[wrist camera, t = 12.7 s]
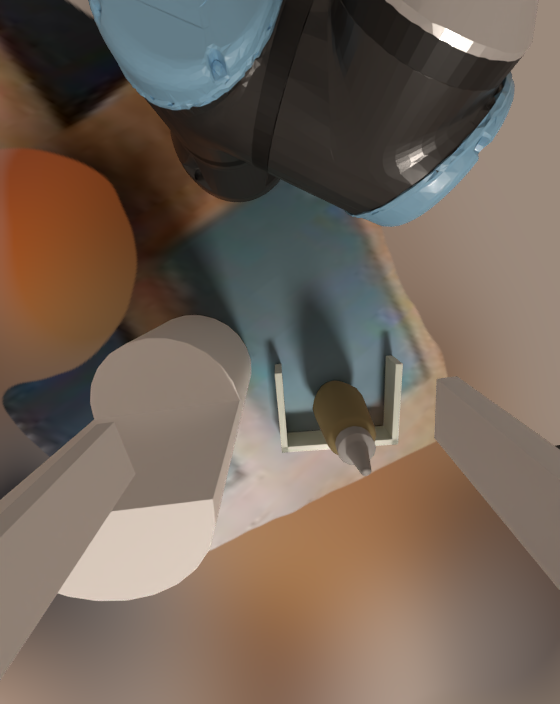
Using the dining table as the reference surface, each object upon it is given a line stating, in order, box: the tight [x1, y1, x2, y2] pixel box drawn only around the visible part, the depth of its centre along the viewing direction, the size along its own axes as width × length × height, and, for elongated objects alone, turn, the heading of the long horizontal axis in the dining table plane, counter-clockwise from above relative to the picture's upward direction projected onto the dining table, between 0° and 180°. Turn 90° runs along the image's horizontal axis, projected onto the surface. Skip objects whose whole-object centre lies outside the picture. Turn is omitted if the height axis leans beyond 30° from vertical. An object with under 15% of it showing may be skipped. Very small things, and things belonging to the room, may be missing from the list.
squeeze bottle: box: [313, 381, 376, 476], centre depth 39 cm, size 8×8×18 cm
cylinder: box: [0, 315, 251, 601], centre depth 32 cm, size 17×17×28 cm
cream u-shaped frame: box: [275, 355, 403, 453], centre depth 46 cm, size 14×19×4 cm
